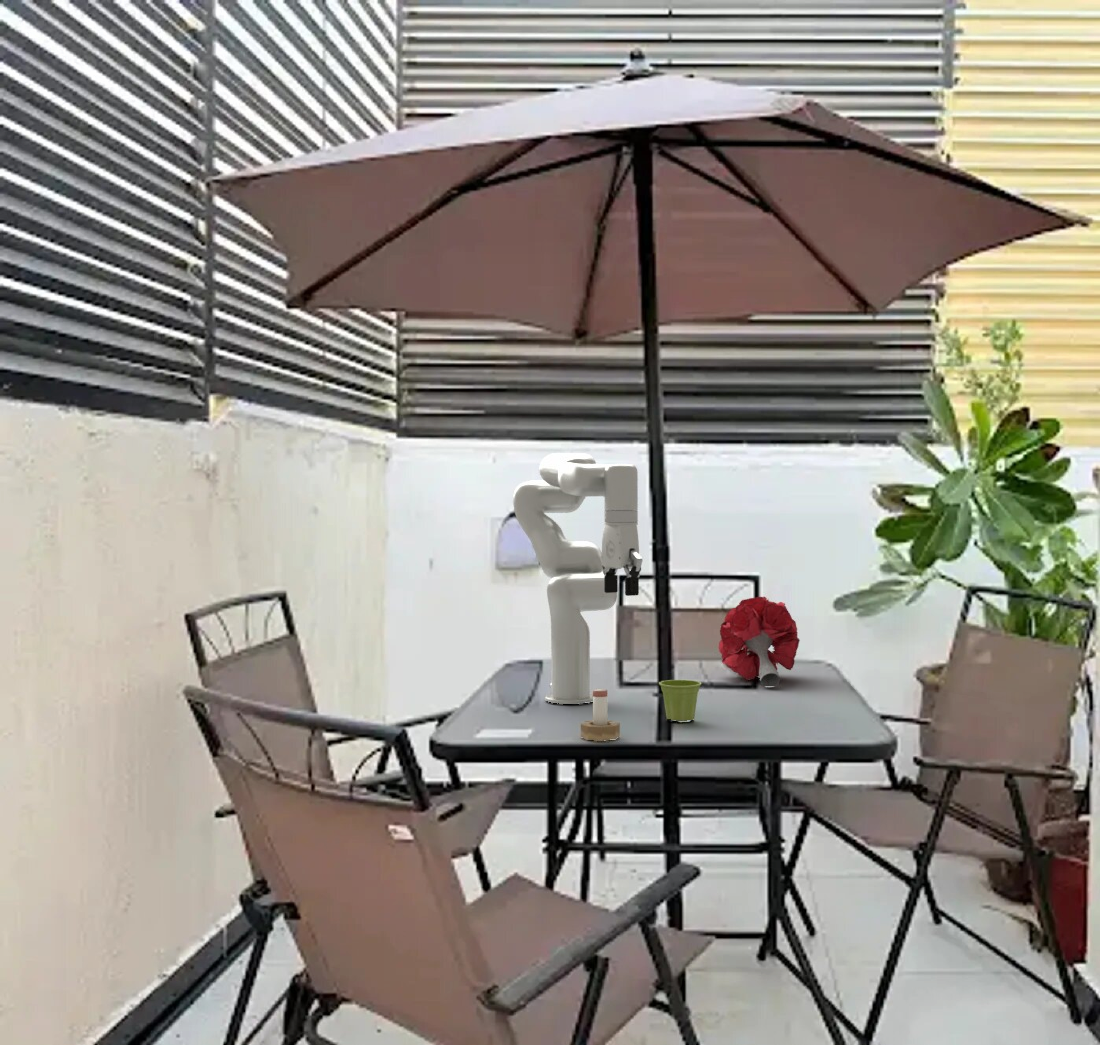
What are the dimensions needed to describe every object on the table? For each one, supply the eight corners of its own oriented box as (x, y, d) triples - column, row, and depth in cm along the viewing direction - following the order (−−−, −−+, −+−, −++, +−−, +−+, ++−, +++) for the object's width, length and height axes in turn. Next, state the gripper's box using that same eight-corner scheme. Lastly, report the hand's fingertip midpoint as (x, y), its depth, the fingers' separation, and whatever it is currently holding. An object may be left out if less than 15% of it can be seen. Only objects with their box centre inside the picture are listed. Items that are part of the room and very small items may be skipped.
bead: (576, 736, 251) (576, 722, 251) (607, 733, 254) (607, 719, 254) (592, 742, 244) (592, 728, 244) (624, 739, 247) (624, 725, 247)
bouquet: (811, 710, 319) (789, 643, 345) (814, 639, 307) (792, 575, 333) (730, 716, 319) (715, 649, 345) (730, 645, 307) (714, 581, 333)
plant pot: (668, 726, 262) (668, 686, 262) (653, 718, 271) (653, 680, 271) (708, 723, 265) (708, 684, 265) (691, 716, 274) (691, 678, 274)
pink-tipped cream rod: (590, 737, 250) (590, 689, 250) (603, 736, 251) (603, 688, 251) (597, 739, 247) (597, 691, 247) (610, 738, 249) (610, 690, 248)
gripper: (588, 518, 277) (589, 592, 278) (625, 519, 262) (625, 597, 262) (617, 518, 281) (617, 590, 281) (654, 518, 265) (655, 596, 265)
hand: (621, 593), depth 271 cm, fingers open, 9 cm apart
